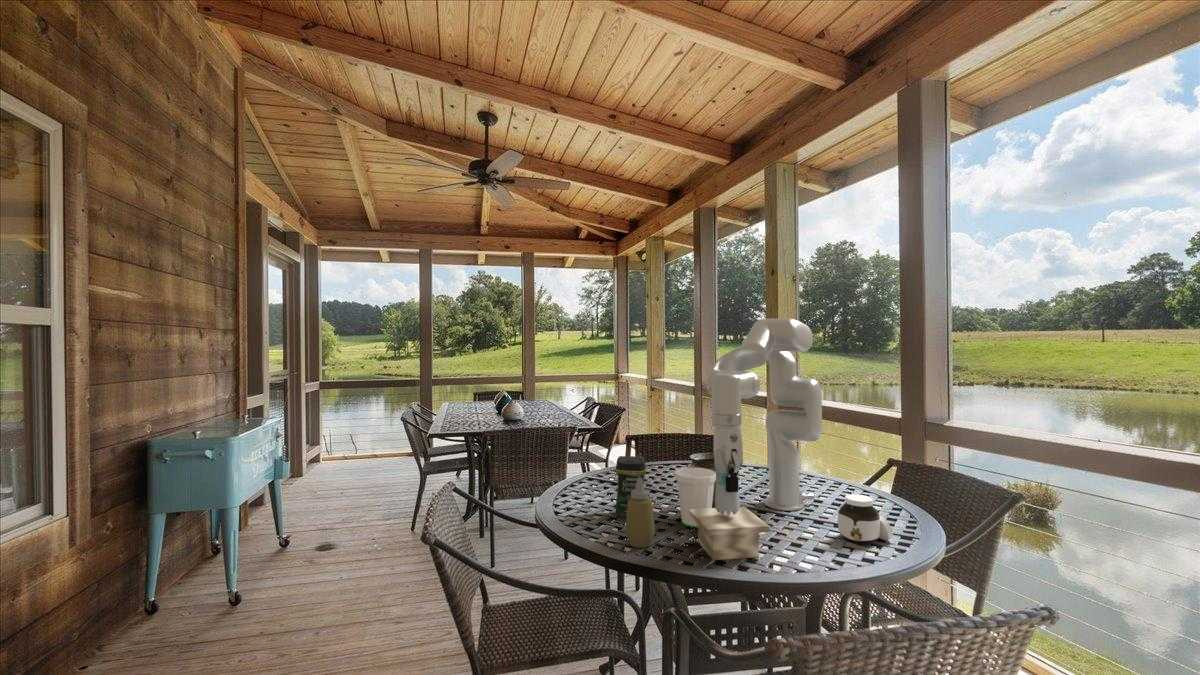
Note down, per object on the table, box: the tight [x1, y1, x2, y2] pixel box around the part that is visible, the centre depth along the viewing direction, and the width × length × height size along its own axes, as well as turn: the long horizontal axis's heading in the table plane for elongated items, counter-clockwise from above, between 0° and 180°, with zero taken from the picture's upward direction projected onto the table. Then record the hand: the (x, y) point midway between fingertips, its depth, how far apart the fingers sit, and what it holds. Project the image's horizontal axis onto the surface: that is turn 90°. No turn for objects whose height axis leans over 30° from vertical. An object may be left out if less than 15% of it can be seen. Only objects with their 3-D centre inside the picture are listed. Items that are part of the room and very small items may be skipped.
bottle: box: [713, 448, 741, 515], centre depth 144 cm, size 7×7×20 cm
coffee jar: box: [615, 455, 647, 519], centre depth 172 cm, size 10×8×19 cm
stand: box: [689, 506, 770, 561], centre depth 143 cm, size 16×16×8 cm
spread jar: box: [837, 494, 894, 546], centre depth 150 cm, size 12×11×12 cm
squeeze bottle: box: [624, 478, 656, 549], centre depth 148 cm, size 8×8×18 cm
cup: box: [674, 467, 716, 529], centre depth 164 cm, size 12×12×15 cm
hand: (727, 487), depth 144 cm, fingers closed on bottle, 5 cm apart
